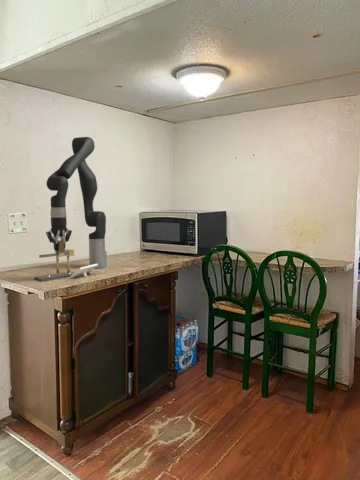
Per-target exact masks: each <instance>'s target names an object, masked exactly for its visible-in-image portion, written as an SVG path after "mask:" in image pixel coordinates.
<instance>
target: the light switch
mask: <svg viewBox="0 0 360 480" xmlns="http://www.w3.org/2000/svg"><path fill="white" fill-rule="evenodd" d="M97 266H98V264H93V265H89V264H88V265H86V266H81V267H79V268H78V269H76V271H73V272H74V273H73V274H72V275H71V276H70V277H69V278H70V279H72V278H76V277H81V276H83V277H84V278H86V277H87V276H88V275H87V274H90V273H91V272H92V271H93V270H95V269H96V268H95V267H97Z"/></svg>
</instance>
